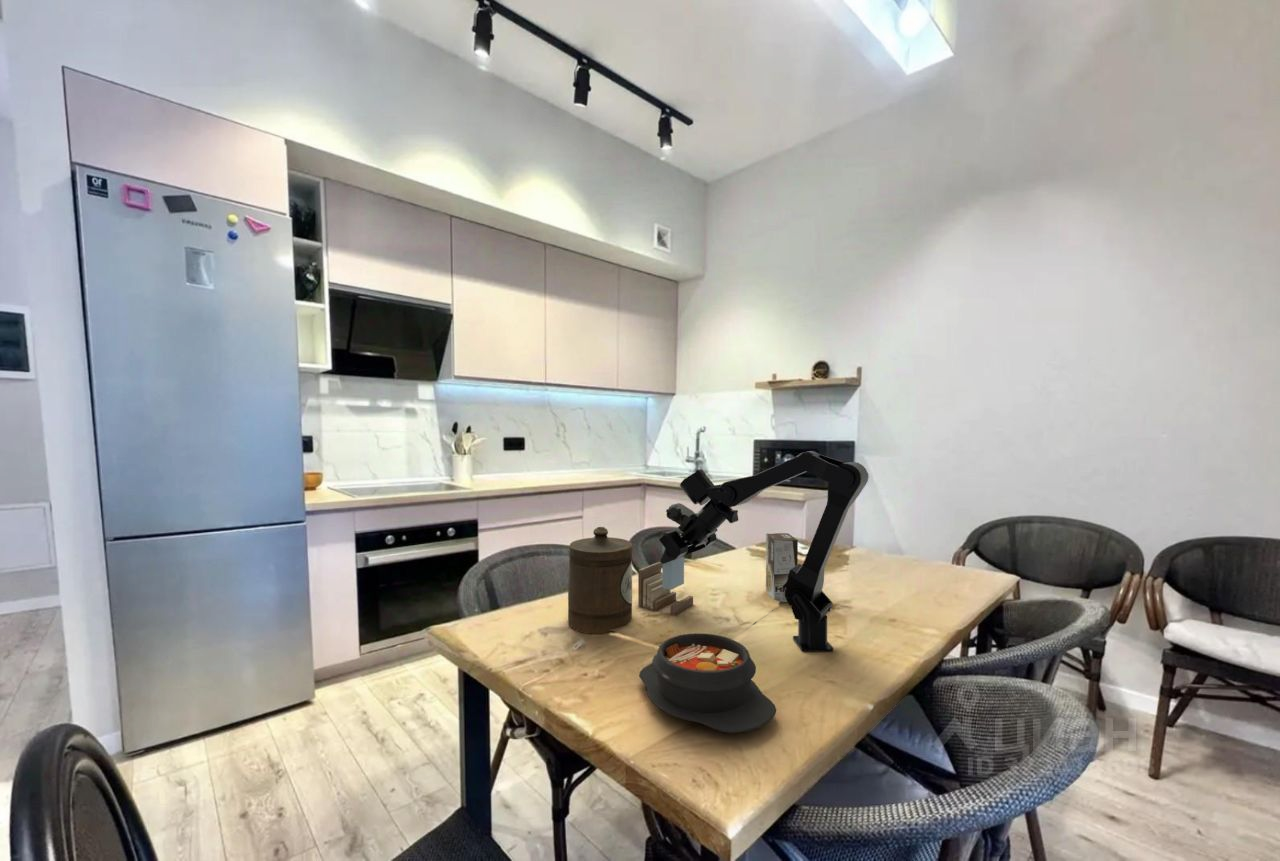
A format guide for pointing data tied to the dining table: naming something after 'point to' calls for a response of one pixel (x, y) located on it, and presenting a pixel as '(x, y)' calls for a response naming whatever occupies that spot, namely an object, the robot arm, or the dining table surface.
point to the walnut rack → (658, 592)
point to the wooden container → (600, 583)
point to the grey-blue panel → (672, 573)
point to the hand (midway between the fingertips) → (668, 559)
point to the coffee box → (779, 562)
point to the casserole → (707, 683)
